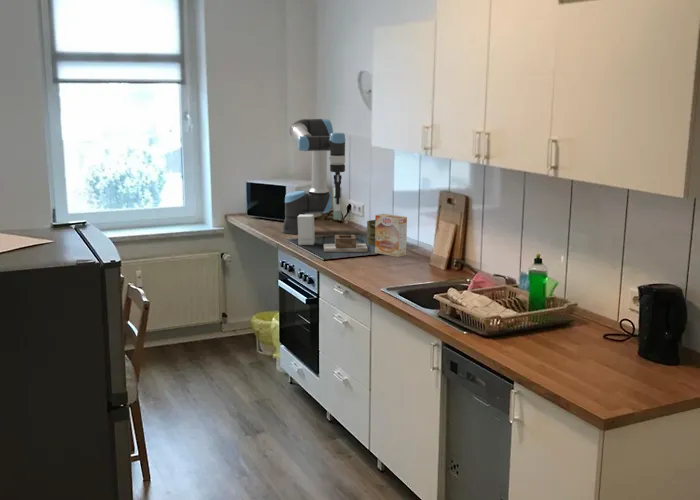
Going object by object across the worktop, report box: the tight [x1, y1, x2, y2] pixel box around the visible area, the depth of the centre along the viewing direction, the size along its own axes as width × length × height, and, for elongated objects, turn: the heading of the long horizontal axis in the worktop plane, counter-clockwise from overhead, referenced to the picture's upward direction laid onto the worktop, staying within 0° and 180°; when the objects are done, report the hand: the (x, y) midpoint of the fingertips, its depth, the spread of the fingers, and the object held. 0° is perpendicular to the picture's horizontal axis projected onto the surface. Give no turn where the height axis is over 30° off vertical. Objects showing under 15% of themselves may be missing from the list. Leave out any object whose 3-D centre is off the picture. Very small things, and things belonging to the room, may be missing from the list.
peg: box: [333, 186, 342, 220], centre depth 387 cm, size 4×4×16 cm
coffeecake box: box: [374, 213, 408, 258], centre depth 380 cm, size 15×7×20 cm, turn 50°
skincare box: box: [297, 214, 316, 246], centre depth 404 cm, size 8×7×16 cm
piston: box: [366, 219, 375, 246], centre depth 405 cm, size 11×12×11 cm
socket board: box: [323, 234, 369, 253], centre depth 392 cm, size 14×22×6 cm, turn 94°
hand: (337, 209), depth 387 cm, fingers closed on peg, 4 cm apart
